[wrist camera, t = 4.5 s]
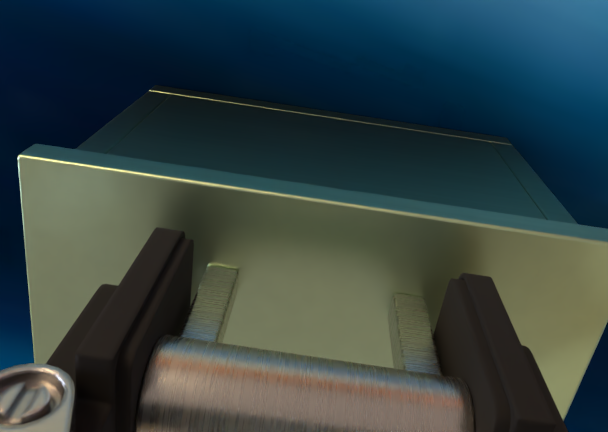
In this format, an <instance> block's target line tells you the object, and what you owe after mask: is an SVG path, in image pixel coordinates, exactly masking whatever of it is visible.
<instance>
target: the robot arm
mask: <svg viewBox="0 0 608 432" xmlns="http://www.w3.org/2000/svg"><path fill="white" fill-rule="evenodd" d="M193 253H194V241H193V240H192V239H185V232H184V231H179V230H172V229H166V228H159V227H156V228H155V229H154V231H153V232H152V234H151V236H150V237H149V239H148V240H147V242H146V243H145V245H144V246H143V248H142V249H141V251H140V253H139V254H138V256H137V257H136V259H135V260H134V262H133V263H132V265H131V267H130V268H129V270H128V271H127V273H126V274H125V276H124V277H123V279H122V281H121V282H120V284H119V285H118V286H117V285H111V284H102V285H101V286H100V287H99V288H98V289H97V291H96V292H95V294H94V295H93V296H92V298H91V299H90V301H89V302H88V304H87V305H86V307H85V308H84V309H83V311H82V312H81V314H80V315H79V317H78V318H77V319H76V321H75V322H74V324H73V325H72V327H71V328H70V329H69V331H68V332H67V334H66V335H65V337H64V338H63V340H62V341H61V342H60V344H59V345H58V347H57V348H56V350H55V351H54V352H53V354H52V355H51V357H50V358H49V360H48V361H47V363H46V364H35V363H30V364H23V365H16V366H13V367H10V368H7V369H4V370H1V371H0V432H134V425H135V414H136V407H137V401H138V396H139V391H140V386H141V382H142V378H143V375H144V371H145V368H146V364H147V361H148V358H149V356H150V353H151V351H152V348H153V346H154V344H155V343H156V341H157V339H158V338H159V337H160V336H162V335H171V336H179V333H180V331H181V328H182V326H183V324H184V321H185V319H186V316H187V314H188V311H189V309H190V302H191V286H192V269H193ZM433 336H434V341H435V345H436V349H437V354H438V358H439V362H440V367H441V371H442V375H443V376H449V377H456V378H460V379H462V380H464V381H465V382H466V383H467V385H468V387H469V389H470V392H471V395H472V399H473V404H474V412H475V432H568V430H567V428H566V426H565V424H564V422H563V419H562V417H561V415H560V413H559V411H558V408H557V406H556V404H555V402H554V400H553V397H552V395H551V393H550V391H549V389H548V387H547V384H546V382H545V380H544V378H543V376H542V373H541V371H540V369H539V367H538V365H537V363H536V360H535V358H534V356H533V354H532V352H531V351H530V349H529V348H528V347H526V346H523V345H521V343H520V341H519V338H518V336H517V334H516V332H515V329H514V327H513V325H512V323H511V320H510V318H509V316H508V313H507V311H506V309H505V307H504V304H503V302H502V300H501V298H500V295H499V293H498V291H497V288H496V286H495V284H494V282H493V279H492V278H491V277H489V276H482V275H476V274H469V273H462V274H461V275H460V276H459V278H458V279H455V278H451V279H450V281H449V283H448V286H447V289H446V293H445V296H444V300H443V303H442V307H441V310H440V314H439V317H438V321H437V324H436V328H435V331H434V334H433Z"/></svg>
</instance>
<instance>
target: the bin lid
mask: <svg viewBox="0 0 608 432" xmlns="http://www.w3.org/2000/svg"><path fill="white" fill-rule="evenodd" d="M18 169H19V181H20V193H21V205H22V217H23V229H24V241H25V253H26V265H27V277H28V289H29V301H30V313H31V325H32V337H33V349H34V361H35V364H46V363H47V361H48V360H49V358H50V357H51V355H52V354H53V352H54V351H55V350H56V348H57V347H58V345H59V344H60V342H61V341H62V340H63V338H64V337H65V335H66V334H67V332H68V331H69V329H70V328H71V327H72V325H73V324H74V322H75V321H76V319H77V318H78V317H79V315H80V314H81V312H82V311H83V309H84V308H85V307H86V305H87V304H88V302H89V301H90V299H91V298H92V296H93V295H94V294H95V292H96V291H97V289H98V288H99V287H100V286H101V285H102V284H111V285H117V286H118V285H119V284H120V282H121V281H122V279H123V277H124V276H125V274H126V273H127V271H128V270H129V268H130V267H131V265H132V263H133V262H134V260H135V259H136V257H137V256H138V254H139V253H140V251H141V249H142V248H143V246H144V245H145V243H146V242H147V240H148V239H149V237H150V236H151V234H152V232H153V231H154V229H155V228H156V227H159V228H166V229H172V230H179V231H184V232H185V239H192V240H193V241H194V253H193V269H192V286H191V302H190V309H189V311H188V314H187V316H186V319H185V321H184V324H183V326H182V328H181V331H180V333H179V336H171V335H162V336H160V337H159V338H158V339H157V341H156V343H155V344H154V346H153V348H152V351H151V353H150V356H149V358H148V361H147V364H146V368H145V371H144V375H143V378H142V382H141V386H140V391H139V396H138V401H137V407H136V414H135V425H134V432H475V412H474V404H473V399H472V395H471V392H470V389H469V387H468V385H467V383H466V382H465V381H464V380H462V379H460V378H456V377H449V376H443V375H442V371H441V367H440V362H439V358H438V354H437V349H436V345H435V341H434V336H433V334H434V331H435V328H436V324H437V321H438V317H439V314H440V310H441V307H442V303H443V300H444V296H445V293H446V289H447V286H448V283H449V281H450V279H451V278H455V279H458V278H459V276H460V275H461V274H462V273H469V274H476V275H482V276H489V277H491V278H492V279H493V282H494V284H495V286H496V288H497V291H498V293H499V295H500V298H501V300H502V302H503V304H504V307H505V309H506V311H507V313H508V316H509V318H510V320H511V323H512V325H513V327H514V329H515V332H516V334H517V336H518V338H519V341H520V343H521V345H523V346H526V347H528V348H529V349H530V351H531V352H532V354H533V356H534V358H535V360H536V363H537V365H538V367H539V369H540V371H541V373H542V376H543V378H544V380H545V382H546V384H547V387H548V389H549V391H550V393H551V395H552V397H553V400H554V402H555V404H556V406H557V408H558V411H559V413H560V415H561V417H562V419H563V421H564V419H565V416H566V414H567V412H568V410H569V407H570V405H571V403H572V401H573V398H574V396H575V394H576V392H577V389H578V387H579V385H580V383H581V380H582V378H583V376H584V374H585V371H586V369H587V367H588V365H589V362H590V360H591V358H592V356H593V353H594V351H595V349H596V347H597V344H598V342H599V340H600V338H601V335H602V333H603V331H604V329H605V326H606V324H607V322H608V229H605V228H598V227H592V226H585V225H578V224H571V223H565V222H558V221H551V220H545V219H538V218H531V217H525V216H518V215H511V214H504V213H498V212H491V211H484V210H478V209H471V208H464V207H457V206H451V205H444V204H437V203H431V202H424V201H417V200H411V199H404V198H397V197H390V196H384V195H377V194H370V193H364V192H357V191H350V190H343V189H337V188H330V187H323V186H317V185H310V184H303V183H297V182H290V181H283V180H276V179H270V178H263V177H256V176H250V175H243V174H236V173H229V172H223V171H216V170H209V169H203V168H196V167H189V166H183V165H176V164H169V163H162V162H156V161H149V160H142V159H136V158H129V157H122V156H115V155H109V154H102V153H95V152H89V151H82V150H75V149H69V148H62V147H55V146H48V145H42V144H34V145H32V146H31V147H29V148H28V149H26V150H25V151H23V152H22V153H20V154H19V155H18Z"/></svg>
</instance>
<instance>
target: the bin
mask: <svg viewBox="0 0 608 432" xmlns="http://www.w3.org/2000/svg"><path fill="white" fill-rule="evenodd" d="M75 150H82V151H89V152H95V153H102V154H109V155H115V156H122V157H129V158H136V159H142V160H149V161H156V162H162V163H169V164H176V165H183V166H189V167H196V168H203V169H209V170H216V171H223V172H229V173H236V174H243V175H250V176H256V177H263V178H270V179H276V180H283V181H290V182H297V183H303V184H310V185H317V186H323V187H330V188H337V189H343V190H350V191H357V192H364V193H370V194H377V195H384V196H390V197H397V198H404V199H411V200H417V201H424V202H431V203H437V204H444V205H451V206H457V207H464V208H471V209H478V210H484V211H491V212H498V213H504V214H511V215H518V216H525V217H531V218H538V219H545V220H551V221H558V222H565V223H571V224H577V223H576V221H575V220H574V219H573V218H572V216H571V215H570V214H569V213H568V212H567V210H566V209H565V208H564V207H563V206H562V204H561V203H560V202H559V201H558V200H557V198H556V197H555V196H554V195H553V193H552V192H551V191H550V190H549V189H548V187H547V186H546V185H545V184H544V183H543V181H542V180H541V179H540V178H539V177H538V175H537V174H536V173H535V172H534V170H533V169H532V168H531V167H530V166H529V164H528V163H527V162H526V161H525V160H524V158H523V157H522V156H521V155H520V154H519V152H518V151H517V150H516V149H515V148H514V146H513V145H512V144H511V143H510V141H509V140H508V139H507V138H505V137H499V136H492V135H485V134H478V133H472V132H465V131H458V130H452V129H445V128H438V127H432V126H425V125H418V124H412V123H405V122H398V121H392V120H385V119H378V118H372V117H365V116H358V115H352V114H345V113H338V112H332V111H325V110H318V109H312V108H305V107H298V106H292V105H285V104H278V103H272V102H265V101H258V100H252V99H245V98H238V97H232V96H225V95H218V94H212V93H205V92H198V91H192V90H185V89H178V88H172V87H165V86H158V85H155V86H154V87H153V88H151V89H150V90H149V91H148V92H147V93H146V94H144V95H143V96H142V97H141V98H139V99H138V100H137V101H136V102H134V103H133V104H132V105H130V106H129V107H128V108H127V109H125V110H124V111H123V112H122V113H120V114H119V115H118V116H117V117H115V118H114V119H113V120H111V121H110V122H109V123H108V124H106V125H105V126H104V127H103V128H101V129H100V130H99V131H98V132H96V133H95V134H94V135H92V136H91V137H90V138H89V139H87V140H86V141H85V142H84V143H82V144H81V145H80V146H79V147H77V148H76V149H75Z"/></svg>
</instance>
